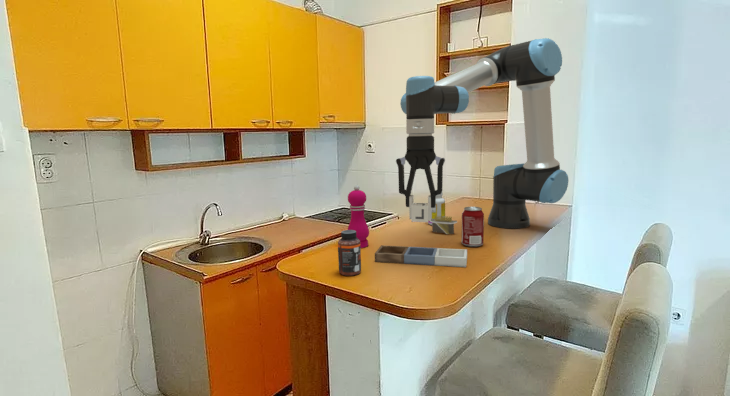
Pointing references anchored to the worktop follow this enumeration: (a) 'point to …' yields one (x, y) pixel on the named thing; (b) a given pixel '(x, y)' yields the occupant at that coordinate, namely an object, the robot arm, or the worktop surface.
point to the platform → (443, 225)
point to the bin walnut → (390, 254)
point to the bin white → (451, 257)
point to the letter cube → (419, 212)
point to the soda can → (472, 226)
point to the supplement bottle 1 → (349, 253)
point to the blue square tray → (420, 256)
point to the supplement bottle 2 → (438, 207)
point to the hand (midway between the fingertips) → (420, 218)
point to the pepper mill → (358, 215)
